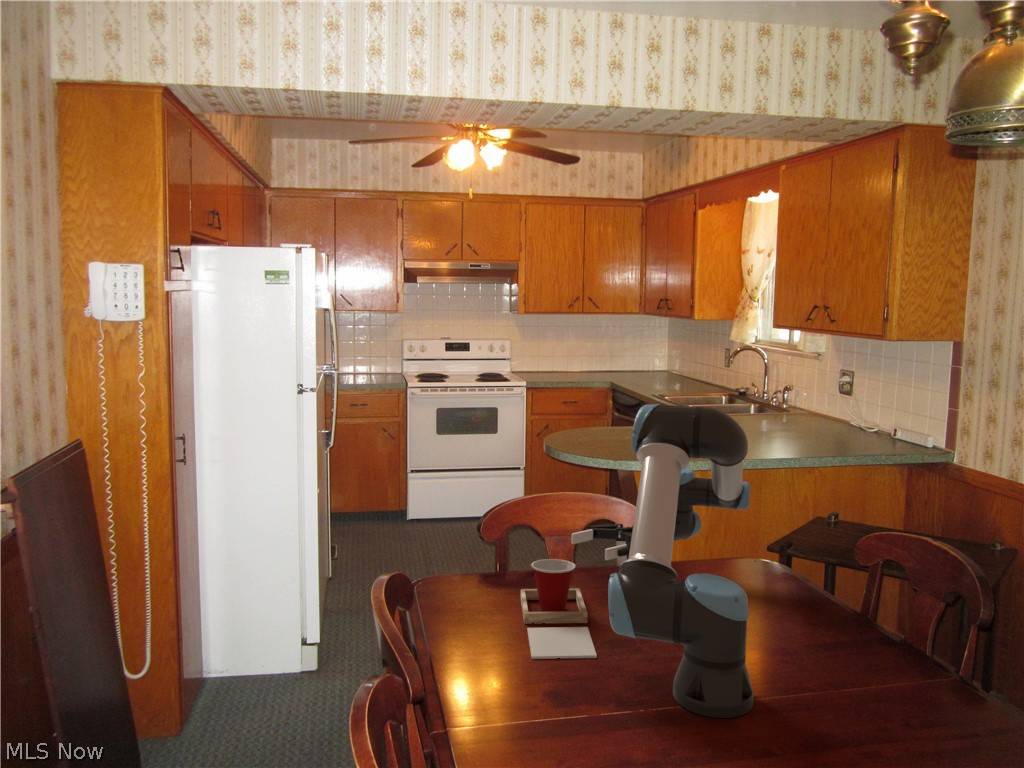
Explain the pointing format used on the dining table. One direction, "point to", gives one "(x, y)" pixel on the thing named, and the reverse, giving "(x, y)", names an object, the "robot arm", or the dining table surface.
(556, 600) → the plastic cup
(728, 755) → the dining table surface
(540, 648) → the white tile
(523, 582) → the dining table surface
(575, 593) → the birch collar
